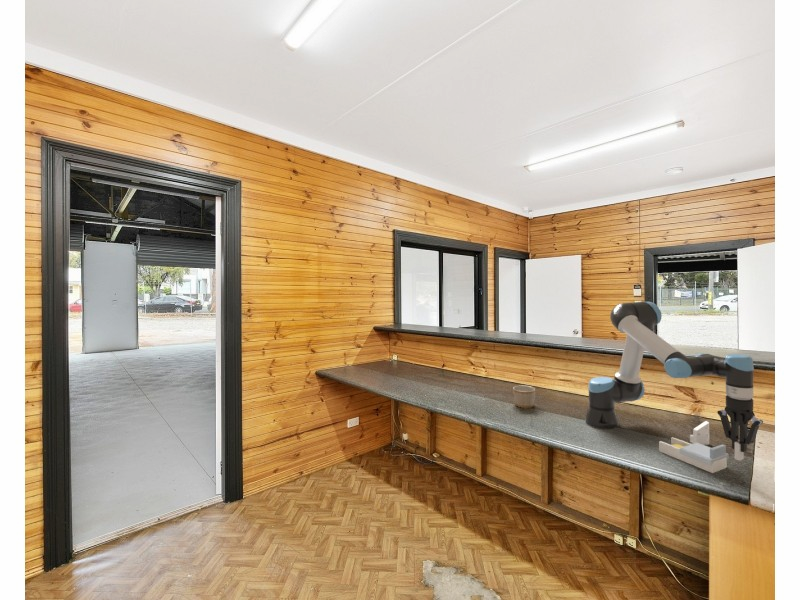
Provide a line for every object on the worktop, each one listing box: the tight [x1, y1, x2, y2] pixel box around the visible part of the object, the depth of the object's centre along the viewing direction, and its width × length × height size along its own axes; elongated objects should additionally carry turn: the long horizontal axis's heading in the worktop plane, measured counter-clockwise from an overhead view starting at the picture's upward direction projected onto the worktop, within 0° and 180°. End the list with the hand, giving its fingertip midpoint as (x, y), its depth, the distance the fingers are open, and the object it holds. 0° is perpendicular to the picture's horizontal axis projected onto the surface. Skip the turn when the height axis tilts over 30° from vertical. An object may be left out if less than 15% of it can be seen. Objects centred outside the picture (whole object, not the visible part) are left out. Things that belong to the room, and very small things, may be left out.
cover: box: [680, 443, 729, 466], centre depth 147 cm, size 11×11×6 cm
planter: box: [512, 384, 536, 409], centre depth 222 cm, size 13×13×10 cm
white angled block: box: [689, 420, 710, 446], centre depth 165 cm, size 4×10×9 cm
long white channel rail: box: [658, 436, 728, 474], centre depth 152 cm, size 20×9×4 cm, turn 22°
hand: (739, 459), depth 137 cm, fingers closed
